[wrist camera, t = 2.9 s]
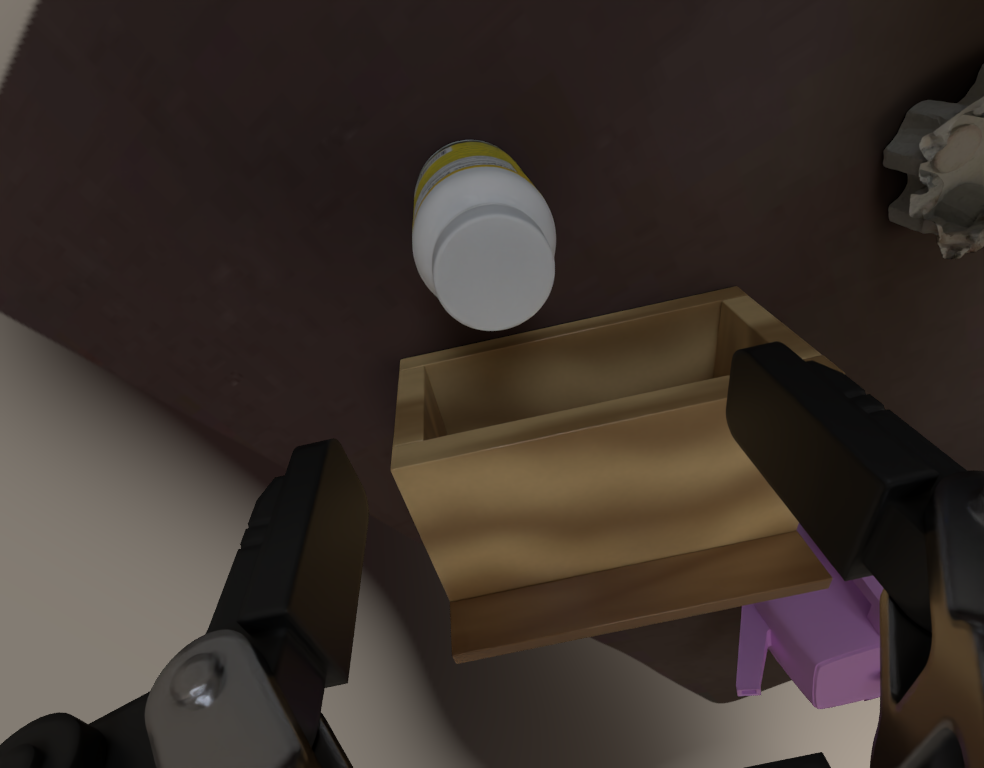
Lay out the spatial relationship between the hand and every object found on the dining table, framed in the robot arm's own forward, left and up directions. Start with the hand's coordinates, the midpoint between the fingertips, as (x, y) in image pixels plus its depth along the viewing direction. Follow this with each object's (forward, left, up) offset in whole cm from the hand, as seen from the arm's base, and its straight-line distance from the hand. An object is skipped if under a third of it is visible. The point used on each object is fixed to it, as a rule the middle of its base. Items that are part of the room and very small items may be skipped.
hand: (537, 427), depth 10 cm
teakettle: (+39, +24, -17) cm, 49 cm away
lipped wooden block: (+14, +4, -17) cm, 22 cm away
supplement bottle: (0, 0, -17) cm, 17 cm away
